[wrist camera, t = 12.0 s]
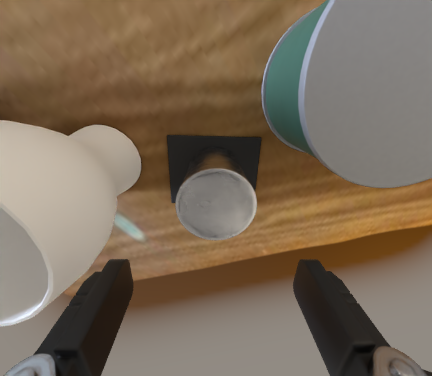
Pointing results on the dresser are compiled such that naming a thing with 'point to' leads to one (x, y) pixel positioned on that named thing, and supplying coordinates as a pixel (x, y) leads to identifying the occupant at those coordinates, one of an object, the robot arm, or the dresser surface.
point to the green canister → (357, 89)
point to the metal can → (215, 196)
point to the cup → (56, 208)
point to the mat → (190, 145)
